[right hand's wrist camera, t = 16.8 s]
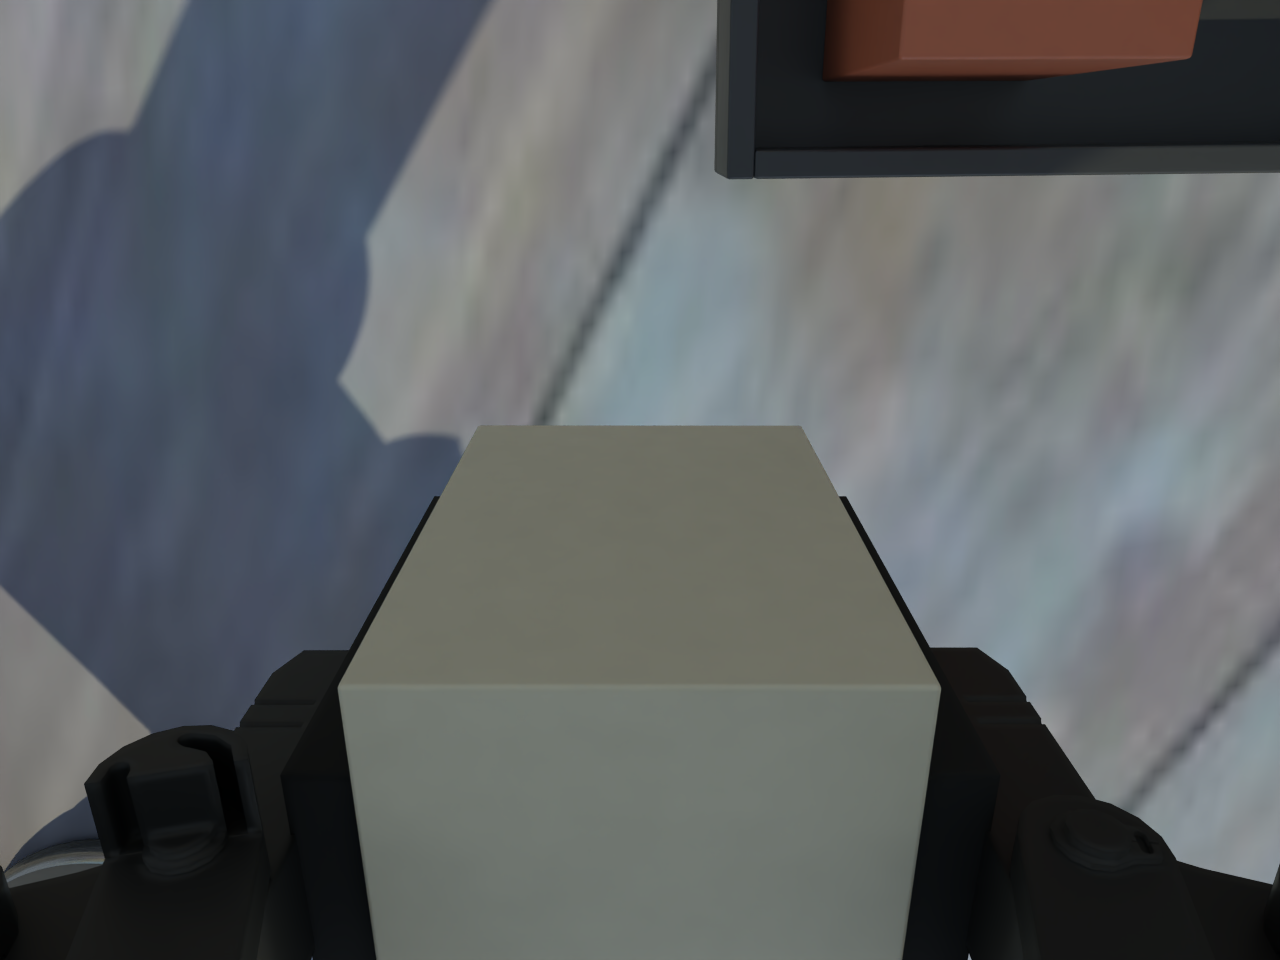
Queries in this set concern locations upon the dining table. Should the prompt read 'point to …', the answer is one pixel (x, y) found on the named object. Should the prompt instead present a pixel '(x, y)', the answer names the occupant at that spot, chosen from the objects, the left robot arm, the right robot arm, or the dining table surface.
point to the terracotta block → (1001, 38)
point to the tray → (994, 107)
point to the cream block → (639, 710)
